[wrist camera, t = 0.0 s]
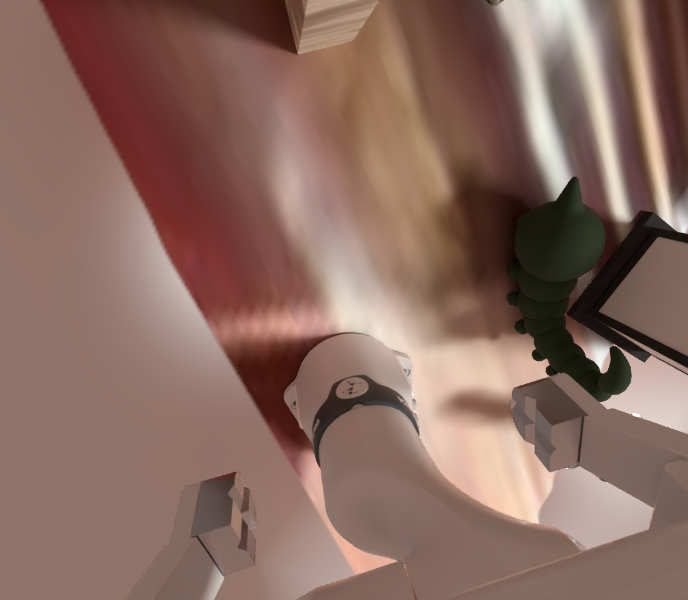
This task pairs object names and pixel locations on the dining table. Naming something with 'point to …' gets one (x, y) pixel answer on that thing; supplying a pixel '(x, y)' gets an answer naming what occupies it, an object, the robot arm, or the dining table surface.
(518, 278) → the toy figurine
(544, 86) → the dining table surface
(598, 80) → the dining table surface
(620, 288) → the lantern
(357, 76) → the dining table surface
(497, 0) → the samovar
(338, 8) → the block
